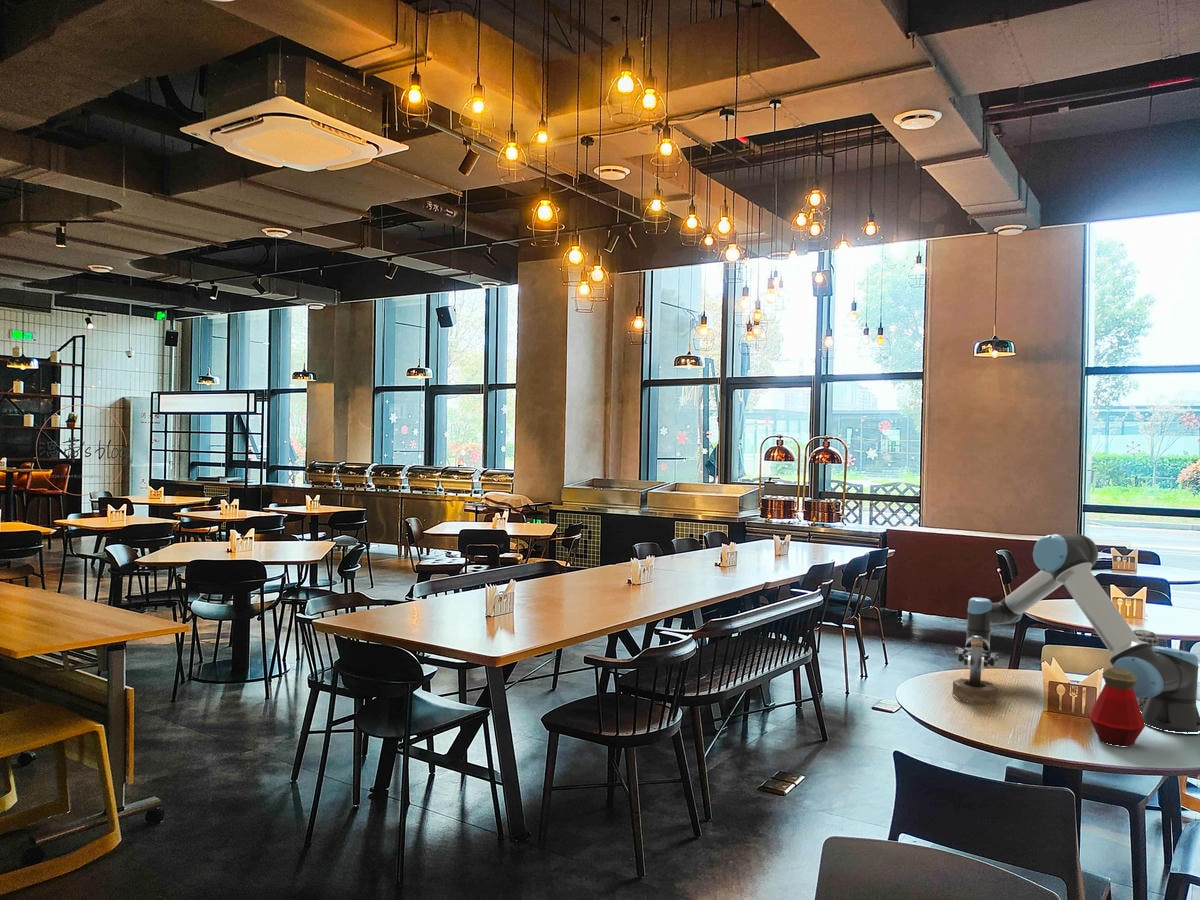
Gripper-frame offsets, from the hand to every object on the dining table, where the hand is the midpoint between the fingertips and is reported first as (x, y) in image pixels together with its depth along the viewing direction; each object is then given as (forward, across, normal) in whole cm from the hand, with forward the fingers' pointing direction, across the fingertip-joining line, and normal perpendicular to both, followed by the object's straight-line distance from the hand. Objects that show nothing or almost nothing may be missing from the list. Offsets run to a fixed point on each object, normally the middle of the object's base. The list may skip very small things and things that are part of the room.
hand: (975, 665), depth 265 cm
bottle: (+16, -37, -12) cm, 42 cm away
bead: (-5, 0, -12) cm, 13 cm away
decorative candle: (-22, -47, -12) cm, 53 cm away
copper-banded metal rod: (-5, 0, -10) cm, 11 cm away
